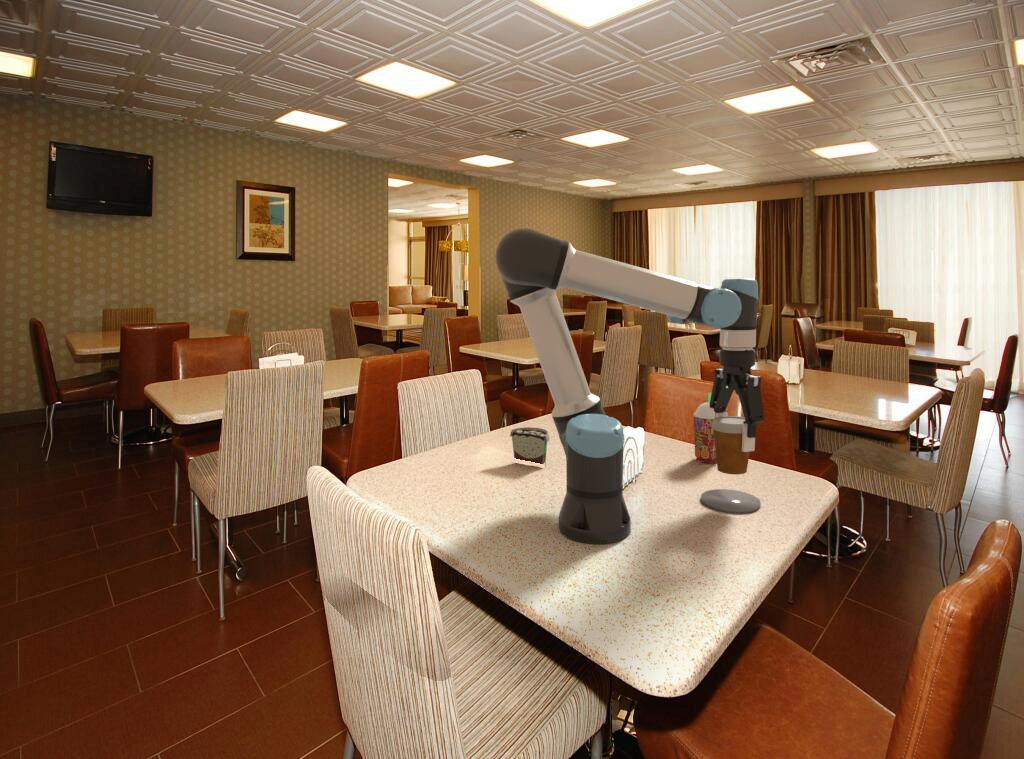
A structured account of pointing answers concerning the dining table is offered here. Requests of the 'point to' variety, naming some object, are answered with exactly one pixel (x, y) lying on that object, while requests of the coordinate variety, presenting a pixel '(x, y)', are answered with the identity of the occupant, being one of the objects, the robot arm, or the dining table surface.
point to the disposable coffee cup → (730, 445)
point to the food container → (530, 444)
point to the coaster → (730, 501)
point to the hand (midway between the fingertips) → (734, 445)
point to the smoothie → (704, 433)
